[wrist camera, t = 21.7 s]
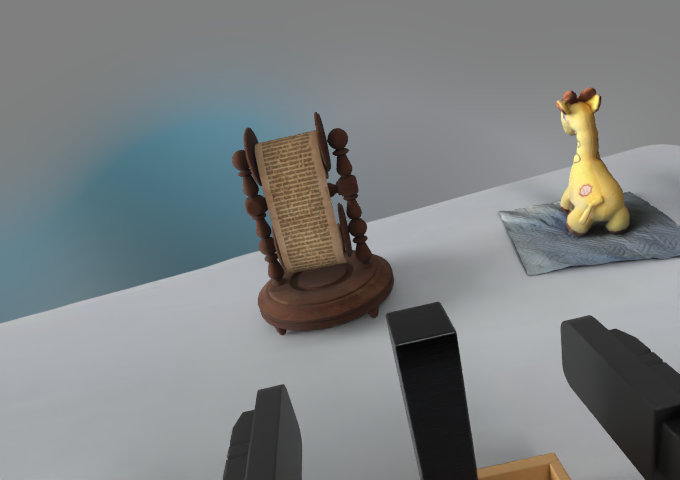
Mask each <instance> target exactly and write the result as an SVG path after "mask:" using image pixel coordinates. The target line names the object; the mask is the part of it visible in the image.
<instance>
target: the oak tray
mask: <svg viewBox="0 0 680 480" xmlns="http://www.w3.org/2000/svg"><path fill="white" fill-rule="evenodd" d="M477 474H478V480H571V479H570V477H569V475H568V474H567V472H566V471H565V469H564V468H563V466H562V464H561V463H560V462H559V460H558V458H557V456H556V455H555V453H550V454H545V455H541V456H536V457H532V458H527V459H522V460H518V461H513V462H509V463H504V464H500V465H495V466H491V467H486V468H481V469H477Z"/></svg>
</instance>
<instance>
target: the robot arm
mask: <svg viewBox="0 0 680 480" xmlns="http://www.w3.org/2000/svg"><path fill="white" fill-rule="evenodd" d="M561 345H562V364H563V370H564V374H565V377H566V379H567V381H568V383H569V385H570V387H571V388H572V389H573V391H574V392H575V393H576V394H577V396H578V397H579V398H580V399H581V401H582V402H583V403H584V404H585V405H586V407H587V408H588V409H589V410H590V412H591V413H592V414H593V415H594V417H595V418H596V419H597V420H598V422H599V423H600V424H601V425H602V427H603V428H604V429H605V430H606V431H607V433H608V434H609V435H610V436H611V438H612V439H613V440H614V441H615V443H616V444H617V445H618V446H619V448H620V449H621V450H622V451H623V453H624V454H625V455H626V456H627V457H628V459H629V460H630V461H631V462H632V464H633V465H634V466H635V467H636V469H637V470H638V471H639V472H640V474H641V475H642V476H643V477H644V479H645V480H680V374H679V373H677V372H676V371H675V370H674V369H673V368H672V367H670V366H669V365H668V364H667V363H666V362H665V363H664V362H663V361H662V359H661V358H660V357H658V356H657V355H656V354H655V353H654V352H651V351H650V349H649V348H648V347H647V346H645V345H644V344H643V343H642V342H641V341H639V340H638V339H637V338H636V337H634V336H631V335H629V334H627V333H625V332H622V331H620V330H618V329H612V330H608V329H606V328H605V327H604V326H603V325H602V324H601V323H600V322H599V321H598V320H596V319H595V318H594V317H593V316H590V315H589V316H584V317H580V318H576V319H571V320H567V321H563V322H562V323H561ZM227 458H228V460H226V465H225V470H224V475H223V480H302V441H301V434H300V429H299V425H298V422H297V419H296V416H295V413H294V410H293V407H292V404H291V401H290V398H289V395H288V392H287V389H286V387H285V385H284V384H283V385H278V386H274V387H270V388H265V389H261V390H258V392H257V398H256V405H255V410H252V411H247V412H243V413H242V415H241V416H240V418H239V419H238V421H237V422H236V424H235V426H234V427H233V430H232V435H231V440H230V447H229V450H228V455H227Z"/></svg>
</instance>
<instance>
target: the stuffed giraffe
mask: <svg viewBox="0 0 680 480" xmlns="http://www.w3.org/2000/svg"><path fill="white" fill-rule="evenodd" d="M600 103H601V96H600V95H598V94H596V90H595V89H594V88H587V89H585V90H583V91H582V93H581V94H580V96H579V97H577V95H576V93H574V92H573V91H567V92H565V93H564V95H563V99H562V100H558V101H557V103H556V104H557V106H558V108H559V110H560V111H561V119H562V124H563V128H564V131H565V132H566V133H567V134H569V135H577V140H578V147H577V154H576V155H575V157H574V164H573V166H572V169H571V174H570V180H569V187H568V188H567V189H566V191H565V192H564V194H563V196H562V199H561V201H557V202H555V203H551V204H543V205H534V206H531V207H528V208H523V209H518V210H517V209H516V210H513V211H499V212H500V214H501V217H502V220H503V222H504V224H505V226H506V228H507V229H508V231H509V233H510V236H511V238H512V240H513V242H514V244H515V246H516V248H517V250H518V253H519V255H520V257H521V260H522V262H523V264H524V267H525V269H526V271H527V273H528V275H538V274H542V273H547V272H549V271H552V270H557V269H562V268H566V267H568V266H577V265H584V266H585V265H597V264H603V263H609V262H612V261H619V260H621V261H623V260H639V259H650V258H659V259H666V258H670V257H675V256H680V226H679V225H677V224H676V223H675V222H674V221H672V220H671V219H670V218H669V217H668V216H666V215H665V214H664V213H663V212H661V211H659V210H658V209H657V208H656V207H654V206H651V205H650V204H649V203H648V202H647V201H644V200H643V199H641V198H639V197H637V196H635V195H634V194H633V193H631V192H625V193H623V191H622V189H621V187H620V186H619V184H618V182H617V181H616V180H615V179H614V178H613V176H612V175H611V173H610V172H609V171H608V169H607V167H606V165H605V164H604V163H603V161H602V160H601V159H600V155H599V152H598V148H599V146H598V131H597V128H596V124H595V117H594V113H595V112H596V111H598V110H599V107H600Z"/></svg>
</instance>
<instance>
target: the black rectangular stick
mask: <svg viewBox="0 0 680 480" xmlns="http://www.w3.org/2000/svg"><path fill="white" fill-rule="evenodd" d="M386 320H387V325H388V329H389V334H390V339H391V344H392V348H393V353H394V358H395V362H396V367H397V372H398V376H399V381H400V386H401V390H402V395H403V400H404V404H405V409H406V414H407V418H408V423H409V428H410V432H411V437H412V442H413V446H414V451H415V456H416V460H417V465H418V470H419V474H420V479H421V480H478V474H477V467H476V461H475V454H474V447H473V440H472V434H471V427H470V420H469V414H468V407H467V400H466V393H465V387H464V380H463V373H462V366H461V360H460V353H459V346H458V340H457V333H456V330H455V329H454V327H453V325H452V323H451V321H450V319H449V317H448V316H447V314H446V312H445V310H444V308H443V306H442V305H441V303H440V302H434V303H430V304H426V305H421V306H417V307H412V308H408V309H404V310H399V311H395V312H390V313H387V314H386Z"/></svg>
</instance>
